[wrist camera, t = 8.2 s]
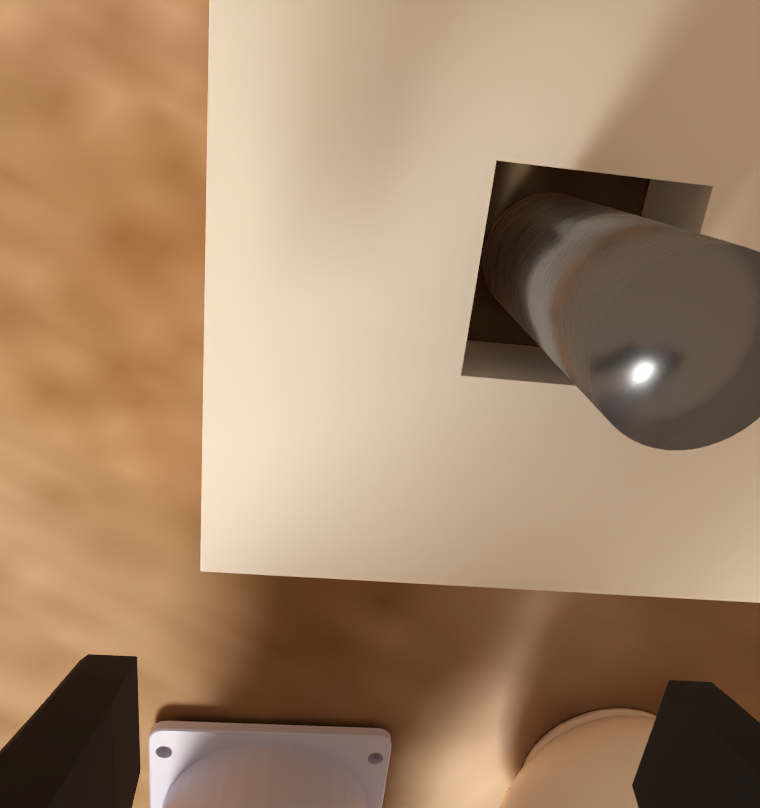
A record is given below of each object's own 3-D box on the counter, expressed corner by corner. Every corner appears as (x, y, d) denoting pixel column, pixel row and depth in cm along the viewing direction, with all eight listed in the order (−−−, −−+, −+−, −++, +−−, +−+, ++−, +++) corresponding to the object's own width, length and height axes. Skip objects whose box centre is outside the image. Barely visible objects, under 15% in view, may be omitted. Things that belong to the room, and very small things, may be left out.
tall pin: (589, 323, 18) (763, 457, 11) (472, 311, 18) (569, 442, 10) (618, 199, 17) (837, 255, 10) (493, 185, 17) (620, 232, 9)
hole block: (739, 542, 21) (799, 604, 18) (219, 508, 20) (200, 571, 17) (957, -60, 15) (1096, -102, 12) (238, -177, 14) (213, -254, 11)
